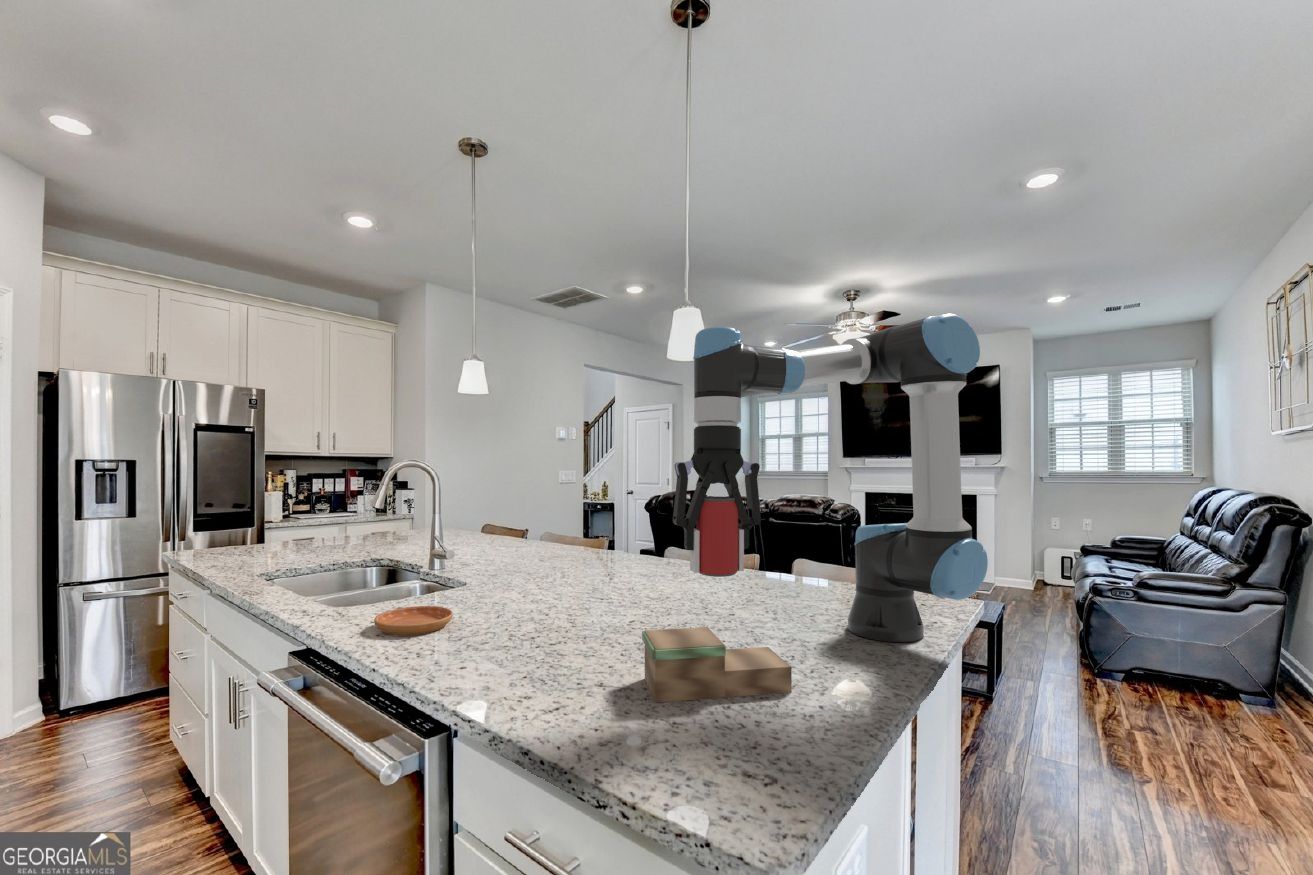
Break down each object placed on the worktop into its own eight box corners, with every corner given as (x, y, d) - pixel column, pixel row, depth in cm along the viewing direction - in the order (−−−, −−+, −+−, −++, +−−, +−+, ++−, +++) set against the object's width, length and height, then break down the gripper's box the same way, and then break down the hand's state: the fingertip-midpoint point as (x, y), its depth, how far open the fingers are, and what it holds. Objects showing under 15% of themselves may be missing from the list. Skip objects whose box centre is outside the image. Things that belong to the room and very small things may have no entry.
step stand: (768, 670, 103) (768, 623, 103) (792, 693, 93) (792, 642, 93) (642, 678, 99) (642, 630, 99) (652, 704, 88) (653, 650, 89)
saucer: (466, 620, 135) (466, 607, 135) (423, 641, 119) (424, 627, 119) (405, 616, 139) (405, 603, 139) (356, 636, 123) (357, 622, 123)
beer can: (713, 568, 97) (714, 495, 98) (746, 573, 93) (746, 497, 93) (687, 573, 93) (688, 497, 93) (720, 579, 88) (721, 499, 89)
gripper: (765, 427, 100) (765, 564, 99) (652, 425, 95) (651, 568, 95) (784, 425, 92) (784, 572, 91) (662, 422, 88) (661, 577, 87)
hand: (716, 570), depth 93 cm, fingers closed on beer can, 7 cm apart
